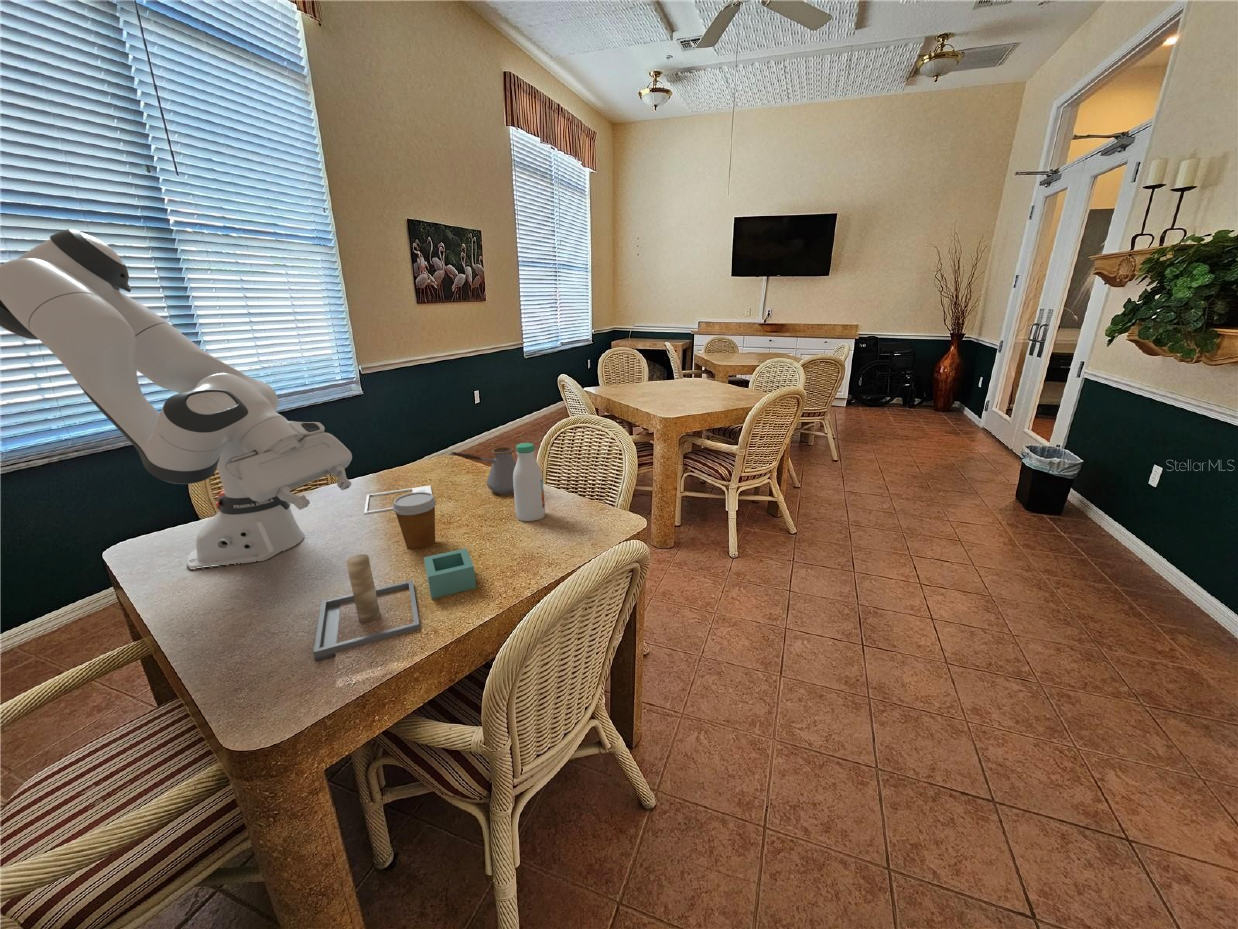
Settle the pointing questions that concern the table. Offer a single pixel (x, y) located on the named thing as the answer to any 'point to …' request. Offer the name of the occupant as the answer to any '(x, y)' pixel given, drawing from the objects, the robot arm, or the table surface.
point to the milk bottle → (528, 485)
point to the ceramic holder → (450, 573)
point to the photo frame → (417, 489)
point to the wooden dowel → (363, 588)
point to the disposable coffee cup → (416, 518)
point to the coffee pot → (498, 469)
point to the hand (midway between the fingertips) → (327, 496)
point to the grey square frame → (328, 637)
